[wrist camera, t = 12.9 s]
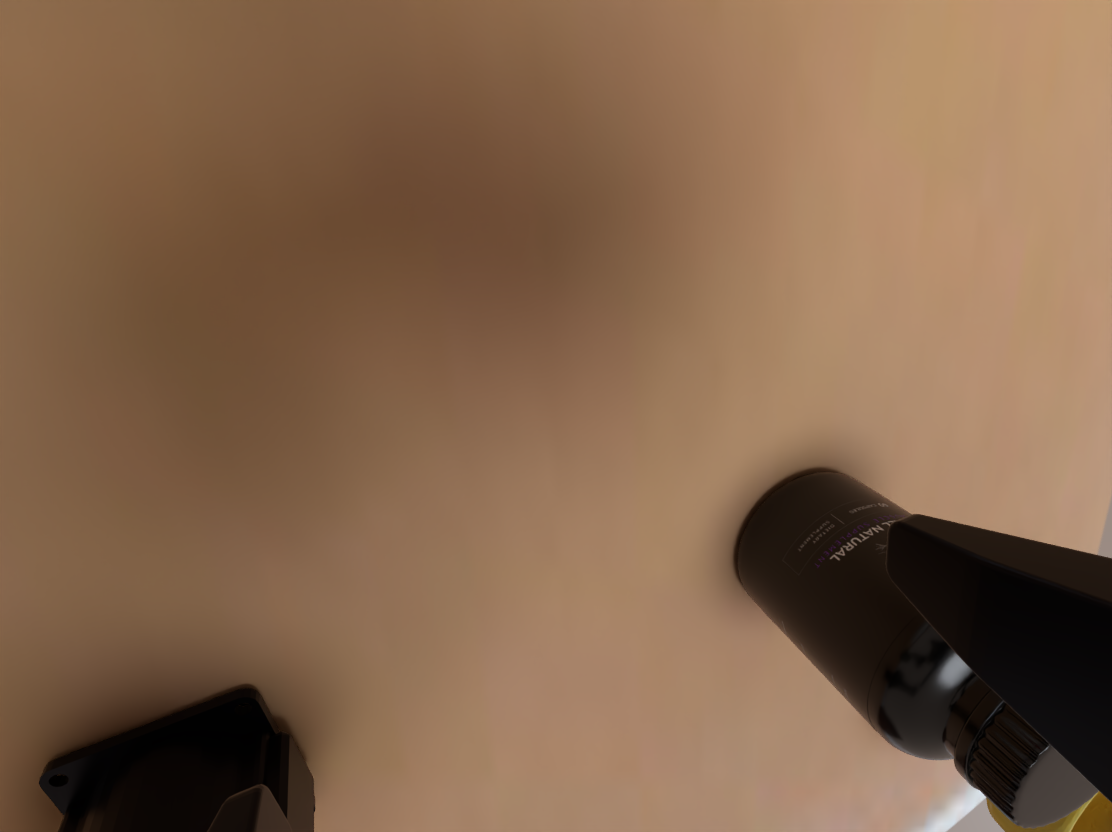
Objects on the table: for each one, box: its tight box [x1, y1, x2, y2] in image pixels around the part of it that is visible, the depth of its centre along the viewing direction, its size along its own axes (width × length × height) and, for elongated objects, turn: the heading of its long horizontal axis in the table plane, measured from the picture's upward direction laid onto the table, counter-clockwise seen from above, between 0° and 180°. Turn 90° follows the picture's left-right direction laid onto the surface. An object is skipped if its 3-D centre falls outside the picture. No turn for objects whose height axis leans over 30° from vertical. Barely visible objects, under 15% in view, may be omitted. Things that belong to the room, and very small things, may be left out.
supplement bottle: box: [738, 472, 1099, 829], centre depth 23 cm, size 7×7×12 cm
